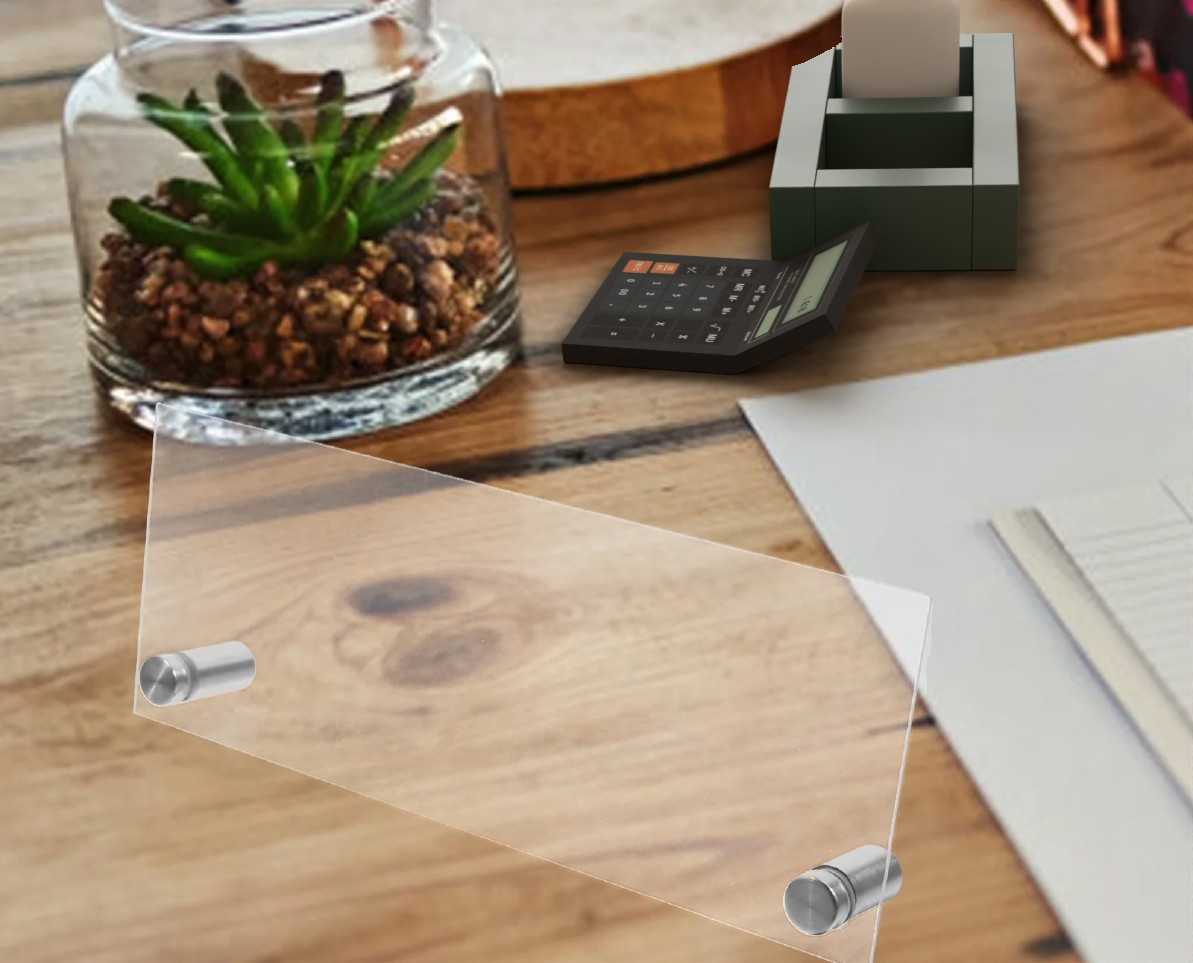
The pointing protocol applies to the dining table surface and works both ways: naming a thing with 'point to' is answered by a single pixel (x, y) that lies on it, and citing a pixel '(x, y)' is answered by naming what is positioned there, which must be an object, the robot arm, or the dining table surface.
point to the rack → (903, 165)
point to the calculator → (717, 307)
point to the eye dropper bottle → (900, 48)
